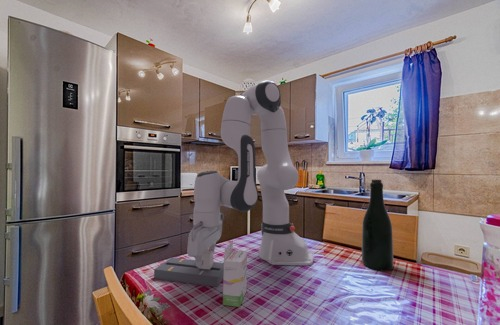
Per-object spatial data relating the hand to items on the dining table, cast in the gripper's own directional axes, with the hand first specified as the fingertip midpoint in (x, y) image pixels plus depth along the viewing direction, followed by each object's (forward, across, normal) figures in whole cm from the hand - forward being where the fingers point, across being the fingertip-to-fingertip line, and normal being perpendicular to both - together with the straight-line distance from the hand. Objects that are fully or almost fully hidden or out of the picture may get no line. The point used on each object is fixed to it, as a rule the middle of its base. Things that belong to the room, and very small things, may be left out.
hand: (205, 260), depth 74 cm
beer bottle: (+6, +24, -60) cm, 65 cm away
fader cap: (+4, 0, 0) cm, 4 cm away
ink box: (+6, -9, -13) cm, 17 cm away
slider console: (+6, 0, +5) cm, 7 cm away
